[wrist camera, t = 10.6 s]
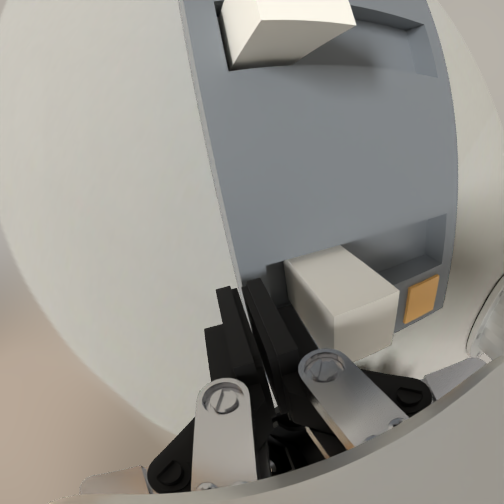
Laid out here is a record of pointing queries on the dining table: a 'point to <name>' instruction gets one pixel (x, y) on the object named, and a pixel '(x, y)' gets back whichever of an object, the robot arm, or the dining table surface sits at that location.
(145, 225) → the dining table surface
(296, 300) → the tab far
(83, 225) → the dining table surface
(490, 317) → the robot arm
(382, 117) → the switch panel
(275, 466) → the end cap
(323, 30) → the tab near
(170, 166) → the dining table surface
